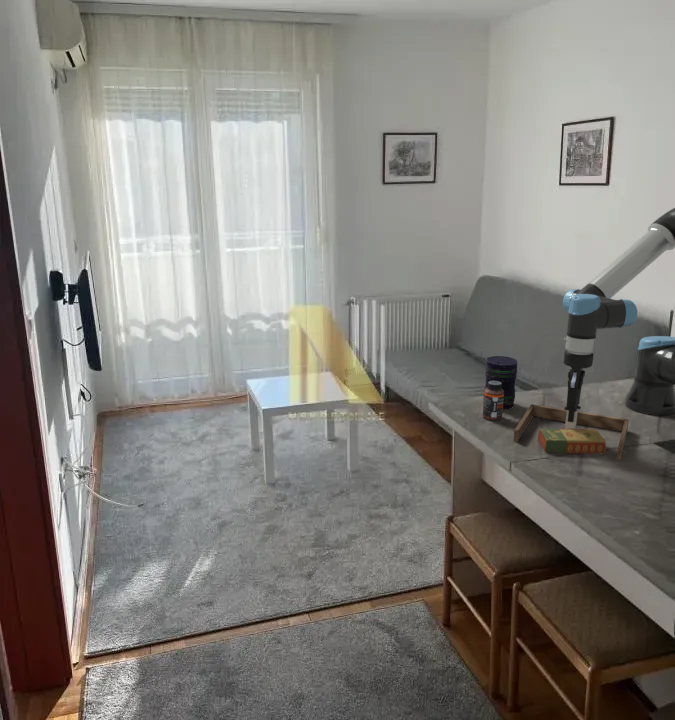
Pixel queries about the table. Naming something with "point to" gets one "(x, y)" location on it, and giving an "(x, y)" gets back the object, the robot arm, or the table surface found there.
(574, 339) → the robot arm
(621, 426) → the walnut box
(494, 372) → the storage jar
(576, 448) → the carton
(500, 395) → the supplement bottle
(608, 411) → the table surface
